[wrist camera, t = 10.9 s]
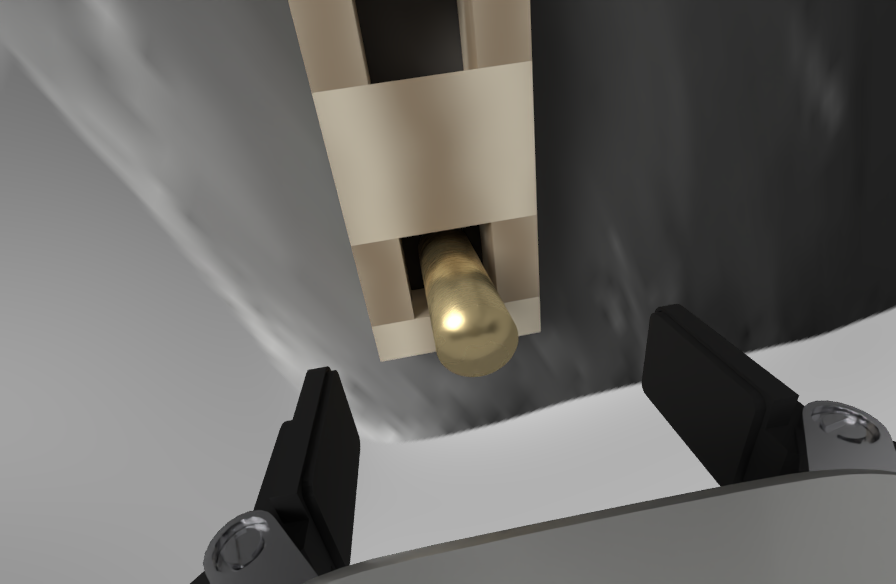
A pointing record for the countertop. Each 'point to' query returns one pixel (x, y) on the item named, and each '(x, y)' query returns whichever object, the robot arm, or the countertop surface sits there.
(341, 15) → the hole block
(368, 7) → the countertop surface
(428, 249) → the brass peg
